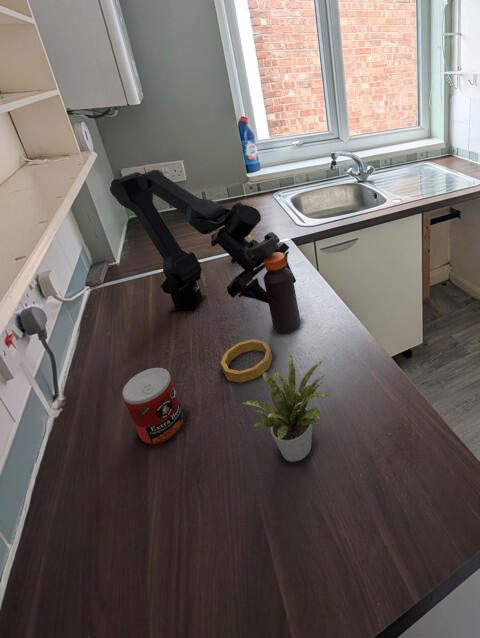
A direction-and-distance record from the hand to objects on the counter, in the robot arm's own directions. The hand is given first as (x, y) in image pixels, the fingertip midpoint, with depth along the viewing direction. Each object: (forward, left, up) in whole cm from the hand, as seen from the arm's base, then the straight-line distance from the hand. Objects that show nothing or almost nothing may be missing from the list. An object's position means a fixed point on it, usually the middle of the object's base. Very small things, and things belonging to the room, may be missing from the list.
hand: (284, 292), depth 98 cm
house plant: (+9, -33, -10) cm, 36 cm away
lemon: (-23, +42, -6) cm, 48 cm away
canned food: (-19, -27, -10) cm, 35 cm away
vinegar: (-1, 0, -10) cm, 11 cm away
